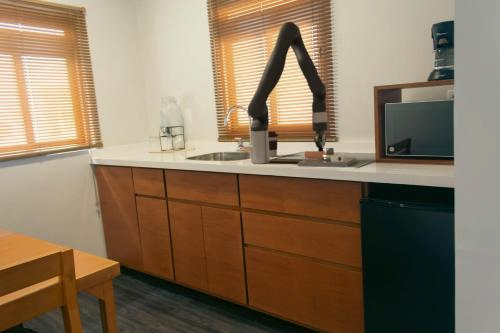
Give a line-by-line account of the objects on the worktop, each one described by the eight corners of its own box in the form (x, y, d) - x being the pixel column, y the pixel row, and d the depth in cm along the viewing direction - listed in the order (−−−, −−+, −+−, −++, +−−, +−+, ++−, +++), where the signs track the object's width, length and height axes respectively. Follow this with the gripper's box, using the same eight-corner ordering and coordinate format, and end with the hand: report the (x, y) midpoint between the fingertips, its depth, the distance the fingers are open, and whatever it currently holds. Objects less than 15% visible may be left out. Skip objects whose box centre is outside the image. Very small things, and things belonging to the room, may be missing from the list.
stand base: (298, 166, 193) (297, 156, 192) (310, 161, 208) (310, 151, 207) (346, 166, 181) (346, 156, 181) (356, 161, 196) (356, 151, 195)
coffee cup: (282, 155, 239) (281, 130, 237) (272, 157, 232) (270, 132, 230) (269, 155, 246) (268, 131, 244) (259, 157, 239) (257, 132, 237)
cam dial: (302, 159, 198) (302, 149, 197) (308, 157, 205) (307, 147, 204) (335, 159, 190) (335, 149, 189) (340, 157, 197) (340, 147, 196)
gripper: (316, 120, 209) (318, 153, 212) (308, 122, 198) (309, 156, 200) (330, 120, 206) (332, 153, 208) (322, 121, 194) (324, 156, 197)
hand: (321, 154), depth 204 cm, fingers closed
